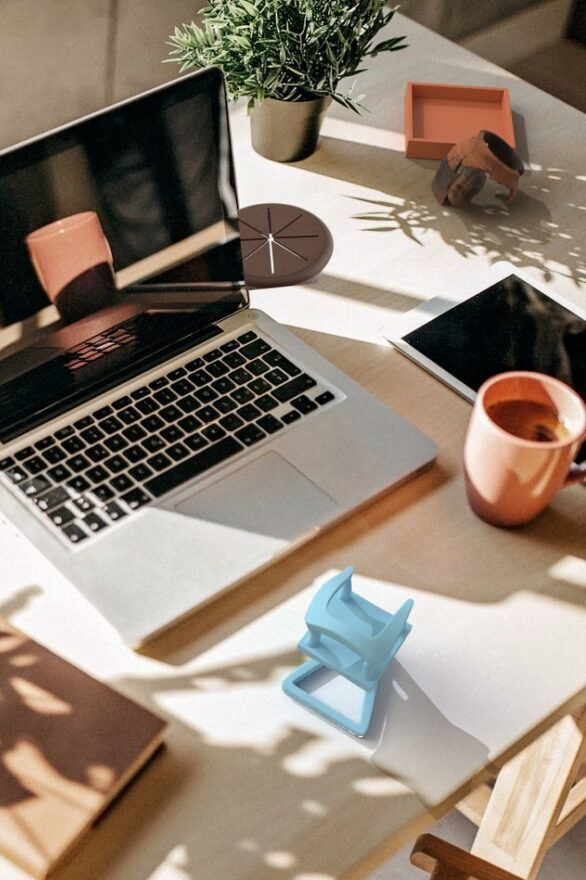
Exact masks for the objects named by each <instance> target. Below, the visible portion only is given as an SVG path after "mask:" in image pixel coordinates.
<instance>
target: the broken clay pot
mask: <svg viewBox="0 0 586 880" xmlns="http://www.w3.org/2000/svg"><path fill="white" fill-rule="evenodd" d="M486 143H487V144H488V147H487V145H486ZM495 156H496V157H497V158H498V159H499V160H500V161H499V160H498V159H497V158H496V157H495ZM460 167H462V168H461V170H460V172H458V171H459V169H460ZM525 172H526V168H525V166H524V163H523V161H522V159H521V158H520V156H519V155H518V153H517V152H516V150H515V151H514V150H513V149H512V148H511V146H510V145H509V144H508V143H507V142H506V141H505V140H503V139H502V138H501V137H499V136H498V135H496V134H495V133H493V132H491V131H488V130H481V131H480V132H479V133H478V134H477V136H476V137H472V138H470V139H467V140H463V141H461V142H459V143H457V144H456V145H455V146H454V147H453V148H452V150H451V151H450V152H449V153H448V154H447V155H446V156H445V158H444V159H443V160H441V163H440V164H439V166H438V167H437V169H436V172H435V174H434V176H433V179H432V180H431V183H430V184H431V185H430V186H431V191H432V194H433V196H434V198H436V200H437V202H438V203H439V204H440V205H444V204H445V203H446V200H447V198H448V201H449V202H450V204H451V205H452V206H453V207H455V208H459V209H466V208H467V207H468V205H470V203H471V201H472V200H473V198H474V197H476V196H477V195H479V193H480V191H482V190H483V188H485V187H484V186H485V184H486V181H487V175H486V173H487V174H489V176H488V178H489V180H490V181H493V182H496V183H497V184H499V185H504V186H505V187H507V188H509V189H510V192H509V194H508V196H507V198H506V199H505V200H504V206H508V205H509V204H510V202H511V201H512V200H513V198H514V197H515V195H516V193H517V190H518V187H519V178H521V176H523V175H524V174H525Z"/></svg>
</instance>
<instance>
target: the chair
mask: <svg viewBox="0 0 586 880" xmlns="http://www.w3.org/2000/svg"><path fill="white" fill-rule="evenodd" d="M354 573H355V567H354V566H353V565H348V566H347V567H346V568H344V569H343V570H342V571H341V572H339V573H338V574H336V575H334V576H333V577H331V578H329V579H328V580H327V581H325V582H324V584H322V585H321V587H320V588H319V589H318V590H317V591H316V593H315V595H314V596H313V597H312V599H311V601H310V603H309V605H308V607H307V609H306V611H305V614H304V622H305V625H306V628H307V629H308V630H307V631H306V632H305V634H304V635H303V636H302V638H300V640H299V642H298V643H297V645H296V646H297V647H296V650H297V651H299V652H300V653H302V654H303V655H305V656H307V657H308V658H310V659H309V660H307V661H306V662H304V663H303V664H301V665H299V667H297V668H296V669H295V670H293V671H292V672H291V673H289V674H288V675H287V676H285V678H284V679H283V680H282V681H281V690H282V691H283V692H284V693H285V694H287V695H288V694H289V695H288V696H290V697H291V696H292V697H291V698H293V697H294V698H293V699H295V700H296V701H298V700H299V701H298V702H300V703H302V704H303V705H304V704H305V705H304V706H306V707H308V708H309V707H310V708H309V709H311V708H312V709H311V710H312V711H314V712H316V713H317V712H318V714H319V713H320V714H319V715H321V714H322V715H323V716H322V715H321V716H322V717H324V716H325V717H324V718H325V719H327V718H328V719H327V720H329V719H330V720H332V721H334V722H335V723H336V724H335V723H334V722H333V723H334V724H335V725H337V724H339V725H340V726H342V727H344V728H345V729H347V730H349V731H351V732H352V733H354V734H356V735H358V736H364V735H365V736H366V735H367V732H368V729H369V727H370V723H371V719H372V716H373V715H372V714H373V711H374V705H375V701H376V696H377V693H378V692H377V691H378V686H379V680H380V678H381V677H382V676H383V674H384V672H385V671H386V669H387V667H388V666H389V665H390V663H391V662H392V661H393V659H394V657H395V656H396V654H397V653H398V652H399V650H400V649H401V647H402V646H403V644H404V642H405V640H406V638H407V637H409V635H410V633H411V632H412V628H413V624H411V623H409V622H407V621H408V619H409V617H410V614H411V612H412V609H413V606H414V604H415V601H414V599H413V598H408V599H406V600H405V602H403V604H401V606H400V607H399V609H397V610H396V612H395V613H394V614H393V613H390V612H389V611H387V610H385V609H383V608H381V607H379V606H378V605H376V604H374V603H372V602H371V601H370V600H367V599H366V598H364V597H362V596H361V595H360V594H358V593H356V592H355V591H353V589H352V587H353V585H352V583H353V582H352V577H353V575H354ZM322 666H323V667H324V666H325V667H326V668H329V670H332V671H333V672H335V673H336V674H338V675H339V676H342V677H343V678H345V679H346V680H347V681H348V682H351V683H352V684H353V685H355V686H356V687H358V688H359V689H360V690H363V691H365V692H364V697H365V698H363V704H362V710H361V716H360V717H361V718H360V722H359V723H357V722H354V721H352V720H351V719H349V718H348V717H346V716H344V715H343V714H342V713H340V712H338V711H337V710H335V709H333V708H331V707H330V706H328V705H327V704H325V702H322V701H320V700H319V699H318V698H317V697H315V696H313V695H311V694H309V693H308V692H306V691H305V690H303V689H302V688H301V687H298V686H297V685H296V684H298V683H299V682H301V681H302V680H304V679H305V678H307V677H308V676H310V675H311V674H314V673H315V672H316V671H318V670H320V669H321V668H322ZM314 671H315V672H314ZM330 720H329V721H330ZM332 721H331V722H332ZM339 725H338V726H339ZM340 726H339V727H340ZM342 727H341V728H342ZM345 729H344V730H345ZM347 730H346V731H347ZM352 733H351V734H352ZM365 736H364V737H365Z"/></svg>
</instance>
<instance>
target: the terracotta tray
mask: <svg viewBox="0 0 586 880" xmlns="http://www.w3.org/2000/svg"><path fill="white" fill-rule="evenodd" d="M511 107H512V106H511V100H510V91H509V88H507V87H492V86H478V85H463V84H462V85H461V84H448V83H447V84H446V83H434V82H432V83H431V82H419V81H418V82H417V81H407V82H406V88H405V93H404V153H405V154H404V156H405V158H409V159H424V160H441V161H442V160H443V159H444V158H445V156H446V155H447V154H448V153H449V152H450V151H451V150H452V148H453V147H454V146H455V145H456V144H457V143H459V142H461V141H463V140H467V139H470V138H472V137H476V136H477V134H478V133H479V132H480V131H481V130H488V131H491V132H493V133H495V134H496V135H498V136H499V137H501V138H502V139H503V140H505V141H506V142H507V143H508V144H509V145H510V146H511V148H512V149H513V150H514V151H515V152H516V140H515V132H514V131H515V130H514V123H513V116H512V115H513V114H512V108H511ZM486 145H487V147H488V144H487V143H486ZM495 157H496V156H495ZM496 158H497V157H496ZM497 159H498V158H497ZM498 160H499V159H498ZM499 161H500V160H499Z"/></svg>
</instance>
